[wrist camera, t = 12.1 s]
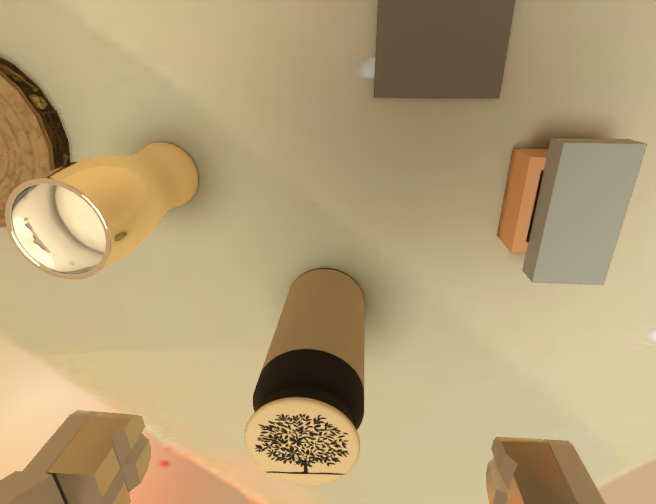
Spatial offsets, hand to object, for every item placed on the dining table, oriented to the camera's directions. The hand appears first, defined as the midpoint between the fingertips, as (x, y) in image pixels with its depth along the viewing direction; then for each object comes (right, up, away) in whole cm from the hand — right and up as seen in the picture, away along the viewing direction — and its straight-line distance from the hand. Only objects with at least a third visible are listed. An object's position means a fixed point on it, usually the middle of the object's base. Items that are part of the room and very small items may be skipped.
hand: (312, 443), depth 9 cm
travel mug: (0, -1, +33) cm, 33 cm away
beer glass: (-15, +12, +29) cm, 35 cm away
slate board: (+20, +8, +23) cm, 31 cm away
